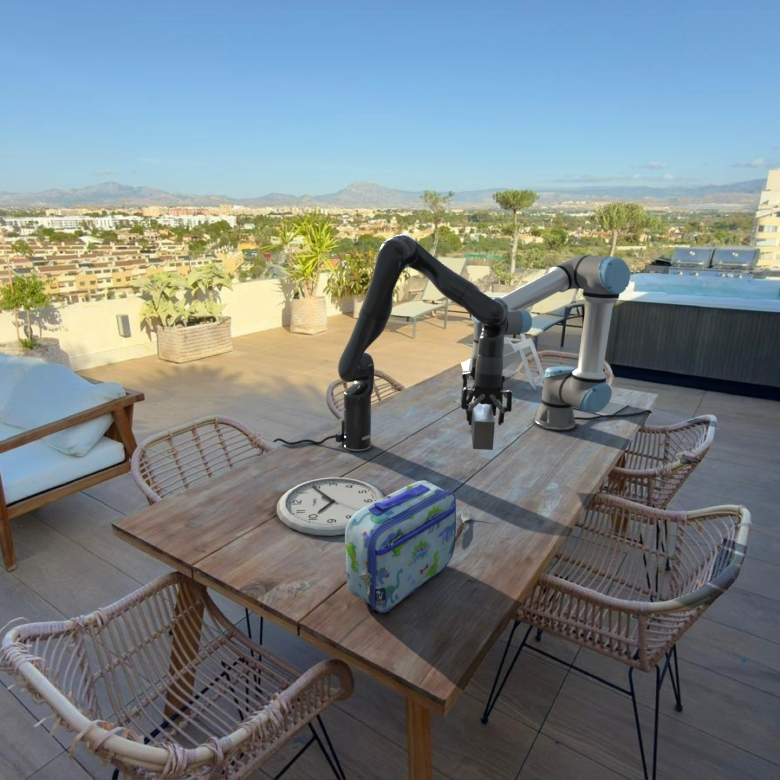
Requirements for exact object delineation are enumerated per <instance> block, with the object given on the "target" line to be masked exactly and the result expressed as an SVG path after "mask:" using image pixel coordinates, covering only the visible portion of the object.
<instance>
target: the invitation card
mask: <svg viewBox="0 0 780 780" xmlns="http://www.w3.org/2000/svg"><path fill="white" fill-rule="evenodd" d="M628 406H629V404H627V403H623V402H618V401H614V400H610V401H609V403H608V404H607V405H606V406H605V407H604V409H602V410H601V411H599V412H597V413H595V414H596V415H599V416H601V415H615V414H616V413H617V412H619V411H621V410H623V409H624V408H626V407H628ZM573 409H575V410H579V409H578V408H576V407H573Z"/></svg>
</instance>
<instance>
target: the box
mask: <svg viewBox="0 0 780 780" xmlns="http://www.w3.org/2000/svg"><path fill="white" fill-rule="evenodd" d="M474 398H475V396H473V399H474ZM473 399H472V400H473ZM495 425H496V421H495V416H494V415H493V410H492V405H488V404H484V405H482V404H480V403H479V404H478V405H477V406H476V407H474V408H473V409H472V421H471V425H470V429H471V430H470V431H471V443H472V450H486V451H493V450H494V442H495V441H494V439H495V427H496V426H495Z"/></svg>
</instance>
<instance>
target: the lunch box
mask: <svg viewBox="0 0 780 780" xmlns="http://www.w3.org/2000/svg"><path fill="white" fill-rule="evenodd" d="M456 534H457V499H456V495H455V493H454V492H453V490H450V489H442V488H440V487H439V486H437V485H435V484H433V483H432V482H430V481H428V480H418V481H416V482H413V483H410V484H409V485H406V486H405V487H402V488H400V489H398V490H396V491H394V492H392V493H390V494H388V495H385V497H384V498H382V499H380V500H378V501H376V502H374V503H372V504H370V505H368V506H366V507H364V508H362V509H360V510H358V511H357V512H355V513H354V514H353V515H352V517H351V518H350V520H349V522H348V524H347V527H346V531H345V534H344V552H345V577H346V578H345V580H346V586H347V589H348V592H349V593H350V594H352V595H354V596H356V597H357V598H359V599H361V600H363V602H365V603H367V604H368V605H370V607H371V608H372V609H373V610H375V611H376V612H378V613H380V614H382V613H383V614H385V613H387V612H389V611H391V609H393V608H394V607H395V606H396V605H397V604H400V602H401V601H402V600H404V599H406V597H409V596H410V595H411V594H412V593H414V592H415V591H416V590H417V589H418V588H420V587H421V586H422V585H423V584H424V583H425V582H427V581H428V580H430V579H432V578H433V577H434V576H436V575H437V574H439V573H441V572H442V571H443V570H445V568H446V567H447V566H448V564H449V563H450V561H451V560H452V557H453V554H454V551H455V548H456V547H455V546H456V542H455V538H456Z"/></svg>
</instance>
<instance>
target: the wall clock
mask: <svg viewBox="0 0 780 780" xmlns="http://www.w3.org/2000/svg"><path fill="white" fill-rule="evenodd" d="M384 497H386V495H385V494H384V493H383V492H382V491H381V490H380V489H379V488H377V487H376V486H374V485H372V484H371V483H369V482H365V481H362V480H359V479H355V478H349V477H338V476H337V477H335V476H333V477H332V476H331V477H322V478H317V479H312V480H307V481H305V482H302V483H299V484H297V485H295V486H293V487H292V488H290V489H288V490H287V491H286V492H285V493H284V494H283V495H281V496H280V498H279V499H278V502H277V503H276V515H277V517H278V518H279V520H280V521H281V522H282V523H283V524H285V525H286V526H287V527H288V528H290V529H293V530H295V531H297V532H299V533H303V534H308V535H312V536H327V537H328V536H329V537H331V536H332V537H333V536H342V535H345V531H346V527H347V524H348V522H349V520H350V518H351V517H352V515H353V514H354V513H355V512H357V511H358V510H360V509H362V508H364V507H366V506H368V505H370V504H372V503H374V502H376V501H378V500H380V499H382V498H384Z"/></svg>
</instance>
